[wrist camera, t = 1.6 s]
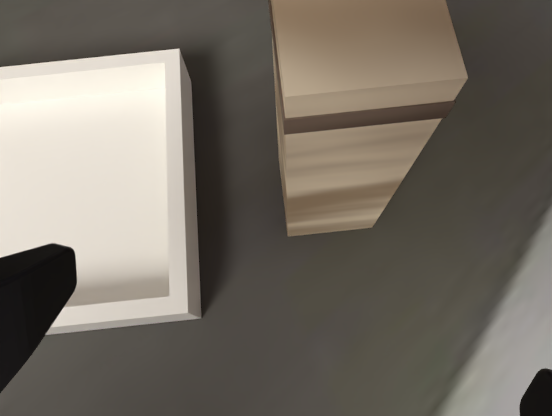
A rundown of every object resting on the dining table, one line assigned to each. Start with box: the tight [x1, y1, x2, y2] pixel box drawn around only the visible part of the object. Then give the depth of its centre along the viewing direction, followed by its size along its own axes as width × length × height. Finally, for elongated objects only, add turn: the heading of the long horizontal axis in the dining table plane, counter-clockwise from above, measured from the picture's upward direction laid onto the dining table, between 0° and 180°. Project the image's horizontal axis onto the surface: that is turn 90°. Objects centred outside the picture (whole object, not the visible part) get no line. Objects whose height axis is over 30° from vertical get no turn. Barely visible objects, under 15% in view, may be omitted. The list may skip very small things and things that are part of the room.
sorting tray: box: [0, 49, 201, 335], centre depth 22 cm, size 14×14×3 cm
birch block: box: [268, 0, 468, 236], centre depth 17 cm, size 5×5×13 cm
